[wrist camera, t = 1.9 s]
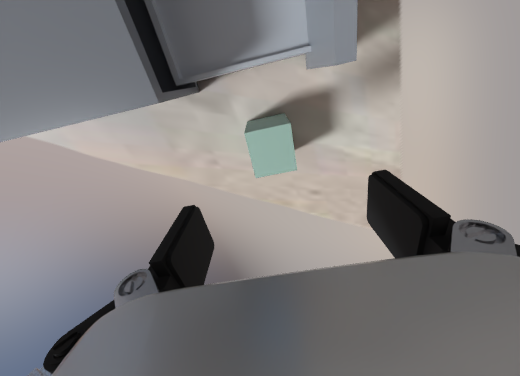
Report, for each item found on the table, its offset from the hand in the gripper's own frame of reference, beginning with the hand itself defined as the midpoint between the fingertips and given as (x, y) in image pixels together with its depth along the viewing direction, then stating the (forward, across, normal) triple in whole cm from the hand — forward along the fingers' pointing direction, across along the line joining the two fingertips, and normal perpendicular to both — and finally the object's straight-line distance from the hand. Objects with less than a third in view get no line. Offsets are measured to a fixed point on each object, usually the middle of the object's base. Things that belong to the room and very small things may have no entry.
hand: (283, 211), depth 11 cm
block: (+13, 0, -1) cm, 13 cm away
